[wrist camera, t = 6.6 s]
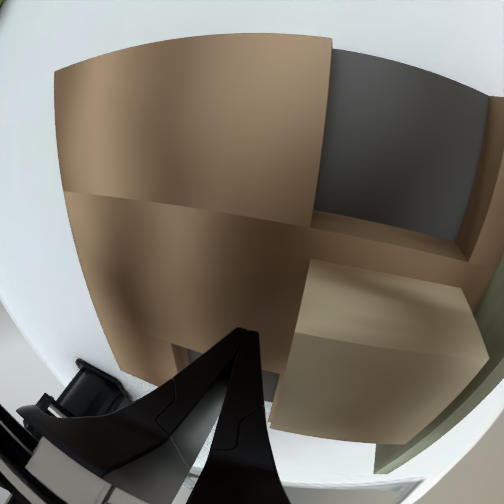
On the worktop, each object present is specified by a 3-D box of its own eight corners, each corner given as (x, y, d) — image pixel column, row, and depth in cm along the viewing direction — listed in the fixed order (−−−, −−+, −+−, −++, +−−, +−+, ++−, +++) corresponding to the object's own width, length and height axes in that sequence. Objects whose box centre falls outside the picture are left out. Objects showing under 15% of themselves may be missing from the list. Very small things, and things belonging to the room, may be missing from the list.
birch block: (287, 364, 13) (269, 428, 10) (310, 258, 10) (294, 331, 7) (402, 382, 11) (404, 444, 9) (461, 288, 8) (489, 358, 5)
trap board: (133, 352, 20) (100, 397, 16) (84, 69, 10) (1, 80, 6) (387, 415, 16) (383, 476, 12) (527, 119, 6) (607, 147, 2)
